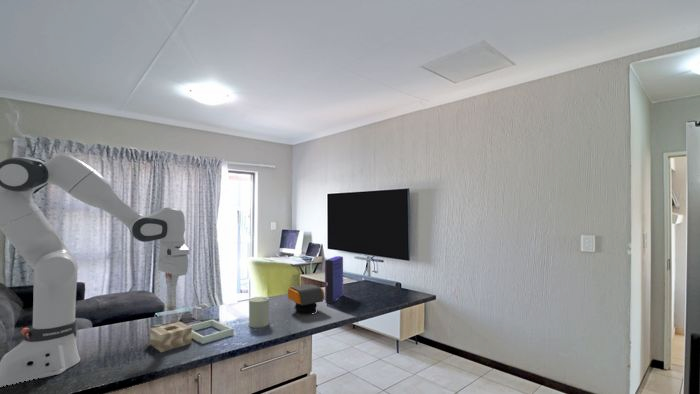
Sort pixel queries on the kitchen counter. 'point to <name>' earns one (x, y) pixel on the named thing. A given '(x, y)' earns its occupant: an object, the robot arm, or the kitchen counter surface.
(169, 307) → the lock pin
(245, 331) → the kitchen counter surface
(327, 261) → the cereal box
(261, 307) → the can
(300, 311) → the sander
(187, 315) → the pulley system
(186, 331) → the block
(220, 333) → the tray
